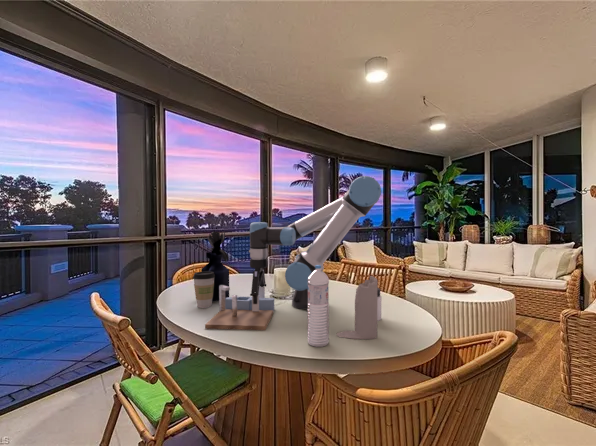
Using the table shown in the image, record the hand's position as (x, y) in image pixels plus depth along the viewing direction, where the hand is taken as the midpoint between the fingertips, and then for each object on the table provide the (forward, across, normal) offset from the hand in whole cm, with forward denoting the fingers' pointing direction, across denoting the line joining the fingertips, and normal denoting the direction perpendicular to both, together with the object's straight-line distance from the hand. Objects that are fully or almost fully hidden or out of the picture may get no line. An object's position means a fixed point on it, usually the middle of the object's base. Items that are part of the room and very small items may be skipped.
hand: (258, 307), depth 139 cm
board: (+1, +14, -4) cm, 15 cm away
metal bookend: (+1, +27, +39) cm, 47 cm away
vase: (+2, -18, -24) cm, 30 cm away
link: (+1, 0, -4) cm, 4 cm away
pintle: (+1, +13, -7) cm, 15 cm away
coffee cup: (+2, -5, -26) cm, 26 cm away
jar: (+1, +9, +46) cm, 47 cm away
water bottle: (+1, +35, +26) cm, 43 cm away
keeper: (+1, +8, -12) cm, 15 cm away
